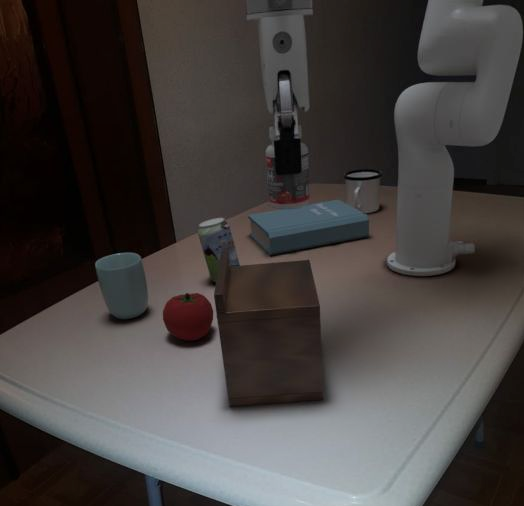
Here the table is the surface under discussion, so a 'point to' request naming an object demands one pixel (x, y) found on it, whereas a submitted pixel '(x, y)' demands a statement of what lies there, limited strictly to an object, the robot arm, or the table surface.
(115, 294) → the cup
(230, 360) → the wooden box
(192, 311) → the tomato
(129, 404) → the table surface
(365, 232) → the book
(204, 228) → the beverage can
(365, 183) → the mug
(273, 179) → the pill bottle
